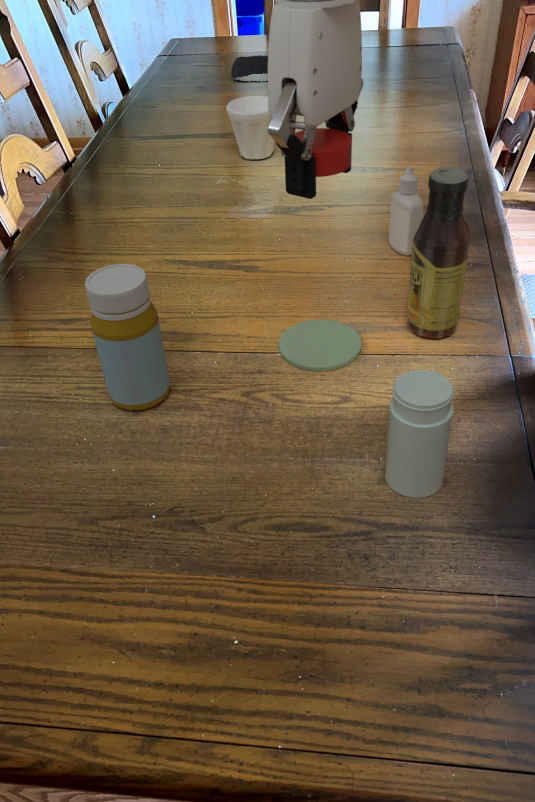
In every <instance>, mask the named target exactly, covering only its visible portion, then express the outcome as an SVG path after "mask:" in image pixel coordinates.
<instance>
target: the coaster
mask: <svg viewBox="0 0 535 802" xmlns="http://www.w3.org/2000/svg"><path fill="white" fill-rule="evenodd" d="M362 341H363V340H362V338H361V336H360V334H359V332H358V331H357V330H356V329H355V328H354V327H352V326H350V325H348V324H347V323H344V322H341V321H339V320H333V319H322V318H321V319H309V320H305V321H301V322H298V323H296V324H294V325H292V326H290V327H289V328H287V329H285V330H284V332H283V333H282V334H281V336H280V337H279V340H278V352H279V354H280V356H281V358H282V359H283V360H284V361H285V362H287V363H288V364H289V365H291V366H293V367H294V368H297V369H301V370H305V371H309V372H329V371H334V370H335V371H336V370H338V369H341V368H344V367H346V366H348V365H351V364H352V363H354V362H355V360H357V358H358V357H359V356H360V354H361V353H362V347H363V346H362V345H363V342H362Z"/></svg>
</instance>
